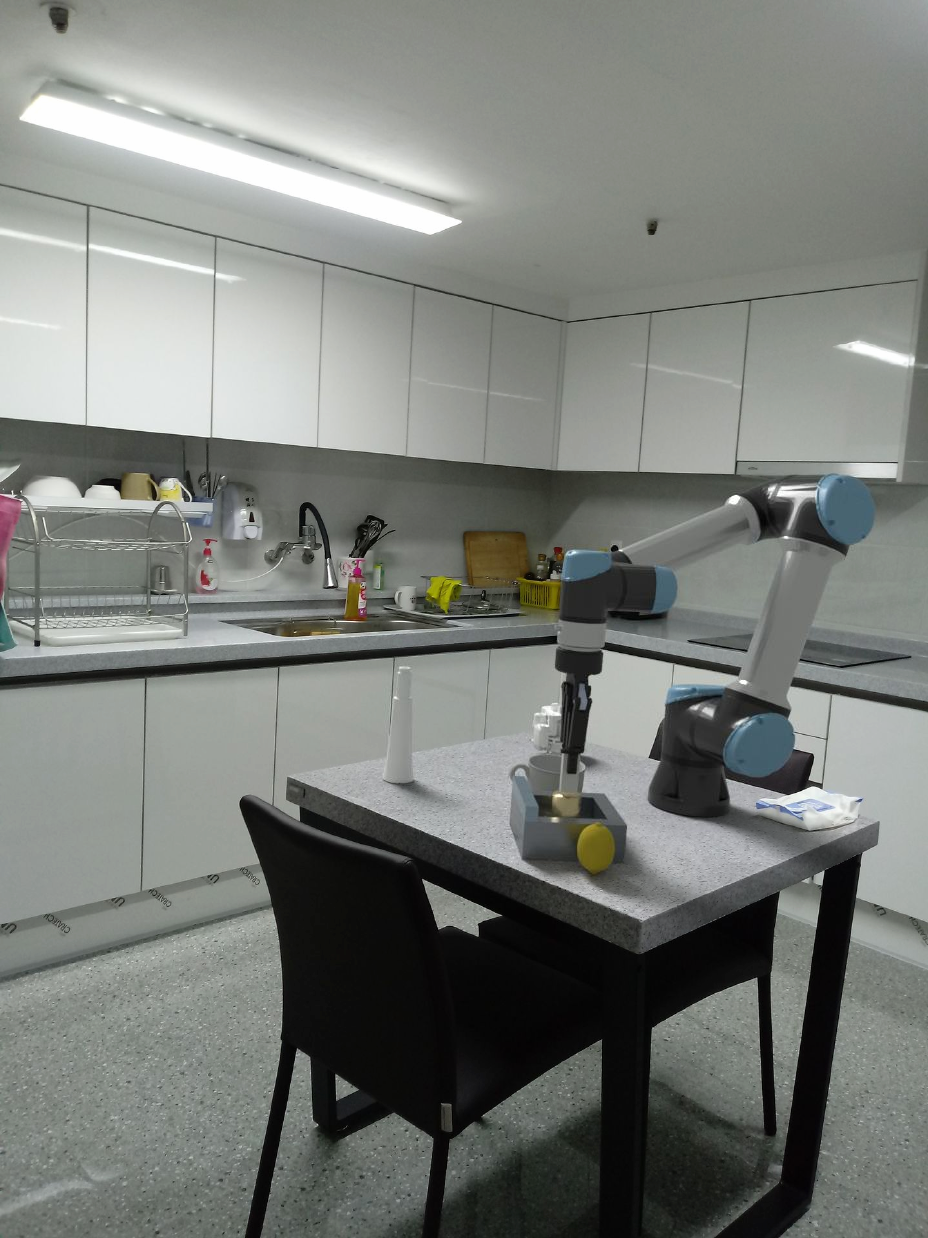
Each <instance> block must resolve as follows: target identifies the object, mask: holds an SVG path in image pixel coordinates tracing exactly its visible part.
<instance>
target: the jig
mask: <svg viewBox="0 0 928 1238" xmlns="http://www.w3.org/2000/svg"><path fill="white" fill-rule="evenodd" d="M511 782H512V781H511ZM553 792H555V791H534V790H531V789H530V787H529V785H528V783H527V780H526V775H524V776H523V775H515V776H513V782H512V785H511V796H510V797H511V798H510V811H509V812H510V813H509V821H508V822H509V827H510V829H511V832H512V834H513V837H514V841H515V844H516V846H517V849H518V852H519V853H518V854H519V855H520V858H521V859H522V860H534V859H544V860H543V861H546V860H545V859H551V860H550V861H560V860H565V861H566V860H568V861H566V862H580V861H579V859H578V854H577V845H578V840H579V837H580V834H581V833H582V831H583V830H584V829H585V828H586V827H588V826H590V825H593V824H595V823H597V822H598V823H601V825H603V826H605V827H606V828H607V829H608V830H609V831H610V832H611V833H612V836H613V838H614V843H615V853H614V857H613V860H612V863H613V862H614V863H615V862H616V863H618V864H624V863H625V853H626V846H627V845H626V843H627V832H628V824H627V822H625V820H624V818H622V816H621V815H620V813H619V812H618V811H617V809H616V808H615V807H614V804H613V803H612V802H611V800H610V799H609V797H607V795H606V794H605V793H600V792H599V793H598V792H596V793H595V792H582V793H580V792H577V793H579V794H580V795H581V807H580V818H559V817H551V812H552V799H553ZM565 861H564V862H565Z"/></svg>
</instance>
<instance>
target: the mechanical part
mask: <svg viewBox="0 0 928 1238" xmlns="http://www.w3.org/2000/svg"><path fill="white" fill-rule="evenodd" d="M561 711H562V705H559V703H557V702H553V703H552V702H551V703H550V705H545V706H542V707H541V712H535V713H534V716H533V722H532V725H531V733H530V735H531V736H530V738H531V739H530V740H531V744H532V745H533V747H534V749H535V750H537V751H539V752H540V751H546V753H545V754H550V752H551V754H554V755H555V754H557V755H561V754H562V753H561V751H560V749H562V743H561V742H560V737H561ZM585 743H587V740H586V741H585Z"/></svg>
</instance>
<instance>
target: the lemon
mask: <svg viewBox="0 0 928 1238" xmlns="http://www.w3.org/2000/svg"><path fill="white" fill-rule="evenodd" d="M614 853H615V843H614V838H613V836H612V833H611V832H610V831H609V830H608V829H607V828H606V827H605V826H603V825H601V823H598V822H597V823H595V824H593V825H590V826H588V827H586V828H585V829H584V830H583V831H582V833H581V834H580V837H579V840H578V845H577V854H578V859H579V861H578V862H580V864H581V866H582V867H583V868H584V869H586V870H588V871H589V873H590V874H591V875H594V874H595V875H597V874H598V873H599V872H603V871H606V869H607V868H609V867H610V866H611V864H612V863H613V862H612V860H613V857H614Z"/></svg>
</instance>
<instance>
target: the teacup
mask: <svg viewBox="0 0 928 1238" xmlns="http://www.w3.org/2000/svg"><path fill="white" fill-rule="evenodd" d="M561 760H562V754H560V755H558V754H555V753H554V754H552V753H549V754H546V753H545V754H544V753H543V754H535V755H531V756H530V757H528V759H527V764H526V763H524V762H520V761H519V762H515V763H514V764H512V765H511V767H510V769H509V772H508V773H509V774H508V775H509V779H510V780H511V782H513V776H516V771H517V770H518V769H522V770H523V771H524V773H525V774H524V776H525V778H526V780H527V783H528V785H529V787H530V789H531V790H534V791H560V790H559V785H560V773H561ZM586 768H587V767H586V764H584V763H583V762H582V761H580V766H579V778H578V790H577V792H580V793H583V787H584V779H585V773H586Z"/></svg>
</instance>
